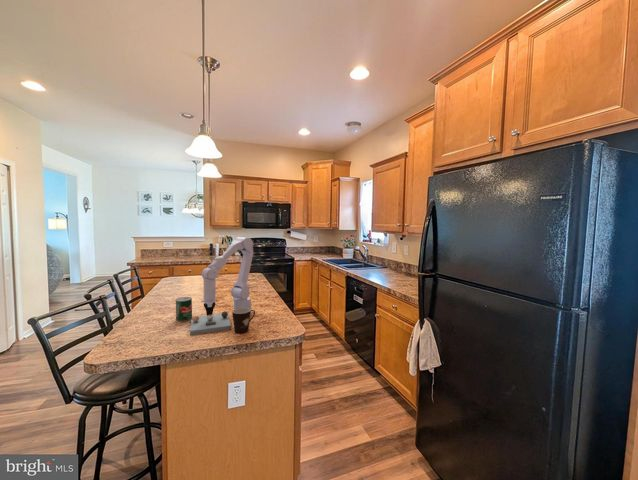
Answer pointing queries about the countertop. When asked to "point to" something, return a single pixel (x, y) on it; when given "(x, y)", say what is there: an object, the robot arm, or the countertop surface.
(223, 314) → the black rubber ball
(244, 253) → the robot arm
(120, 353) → the countertop surface
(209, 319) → the steel ball
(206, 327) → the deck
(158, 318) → the countertop surface
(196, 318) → the terracotta ball
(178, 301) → the canned tomato
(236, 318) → the coffee mug
